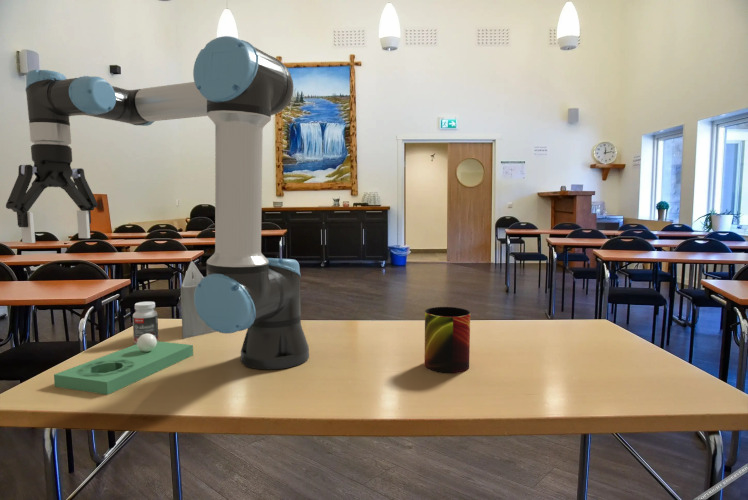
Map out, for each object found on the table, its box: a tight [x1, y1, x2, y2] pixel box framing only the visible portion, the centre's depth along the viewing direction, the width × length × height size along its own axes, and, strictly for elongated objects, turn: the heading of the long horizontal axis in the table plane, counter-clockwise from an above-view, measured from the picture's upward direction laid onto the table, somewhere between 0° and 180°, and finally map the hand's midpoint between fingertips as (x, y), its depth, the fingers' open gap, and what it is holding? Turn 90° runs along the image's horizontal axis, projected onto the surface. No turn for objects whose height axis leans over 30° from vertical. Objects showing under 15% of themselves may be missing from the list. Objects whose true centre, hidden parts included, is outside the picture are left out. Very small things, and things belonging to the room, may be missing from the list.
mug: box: [424, 306, 471, 375], centre depth 106 cm, size 10×14×12 cm
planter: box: [180, 260, 217, 339], centre depth 132 cm, size 16×8×19 cm, turn 1°
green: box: [53, 340, 194, 395], centre depth 102 cm, size 24×13×2 cm, turn 162°
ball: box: [137, 333, 158, 352], centre depth 107 cm, size 4×4×4 cm
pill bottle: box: [132, 301, 159, 344], centre depth 122 cm, size 6×6×10 cm
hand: (58, 240), depth 109 cm, fingers open, 13 cm apart
